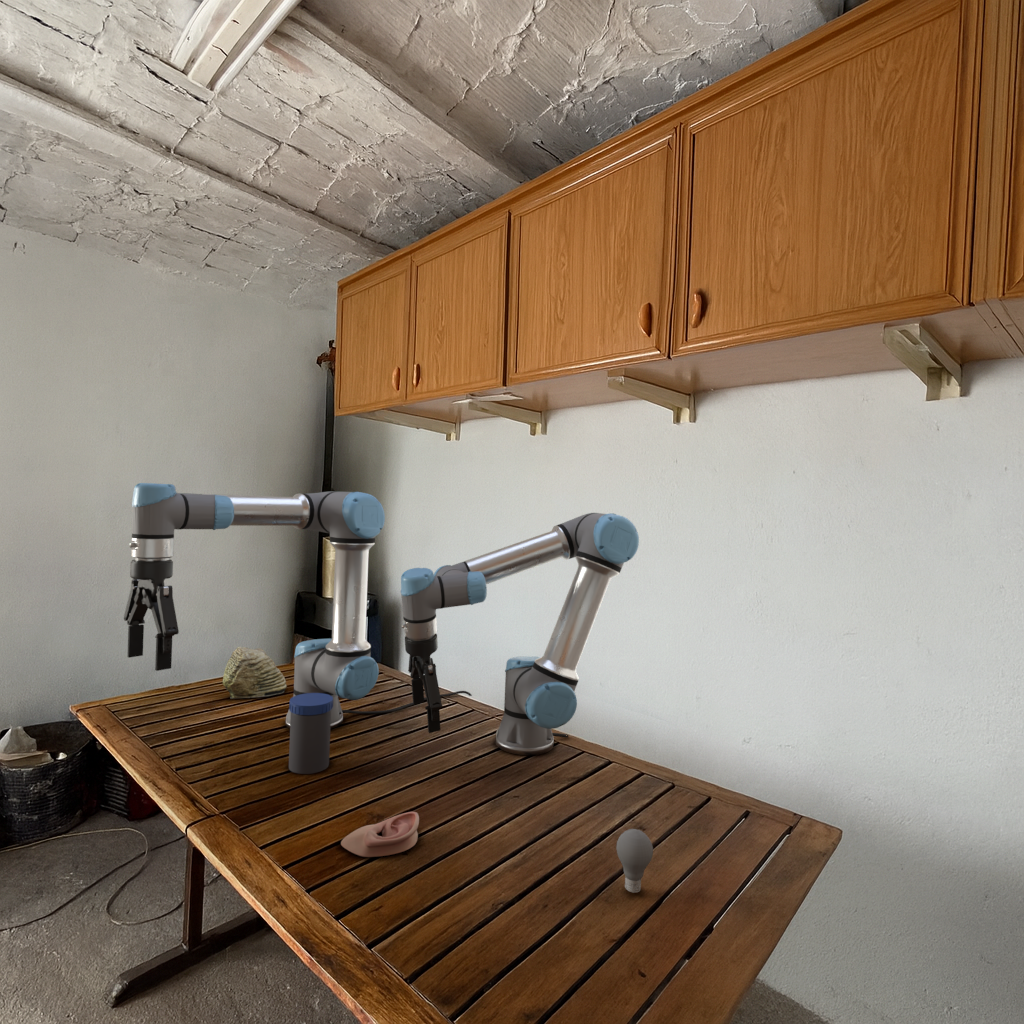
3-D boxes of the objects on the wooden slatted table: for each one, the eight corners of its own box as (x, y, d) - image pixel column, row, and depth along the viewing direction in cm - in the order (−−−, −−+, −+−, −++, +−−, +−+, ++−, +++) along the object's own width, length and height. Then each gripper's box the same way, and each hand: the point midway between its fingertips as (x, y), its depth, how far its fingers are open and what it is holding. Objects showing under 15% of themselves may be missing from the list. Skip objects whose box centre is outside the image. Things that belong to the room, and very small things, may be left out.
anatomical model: (333, 830, 113) (361, 800, 124) (332, 852, 113) (360, 820, 124) (403, 841, 110) (425, 810, 122) (402, 863, 110) (424, 830, 122)
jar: (294, 757, 153) (297, 694, 153) (332, 758, 153) (335, 695, 153) (283, 773, 144) (286, 706, 144) (323, 774, 144) (326, 707, 144)
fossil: (218, 695, 195) (220, 647, 195) (278, 685, 208) (279, 640, 207) (228, 703, 189) (230, 653, 188) (289, 692, 201) (290, 645, 201)
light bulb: (610, 879, 108) (613, 822, 108) (644, 879, 109) (647, 822, 109) (619, 902, 102) (622, 840, 102) (655, 901, 103) (658, 840, 103)
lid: (295, 701, 153) (296, 692, 153) (336, 702, 154) (337, 693, 154) (283, 714, 143) (284, 705, 143) (327, 715, 144) (327, 706, 144)
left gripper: (108, 554, 134) (104, 654, 134) (159, 565, 118) (155, 678, 119) (146, 552, 140) (143, 648, 140) (199, 563, 124) (195, 671, 124)
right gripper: (392, 618, 157) (398, 695, 162) (419, 660, 134) (425, 748, 139) (421, 612, 159) (426, 688, 164) (453, 653, 137) (457, 739, 142)
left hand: (148, 662), depth 129 cm, fingers open, 13 cm apart
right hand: (426, 716), depth 152 cm, fingers open, 13 cm apart
